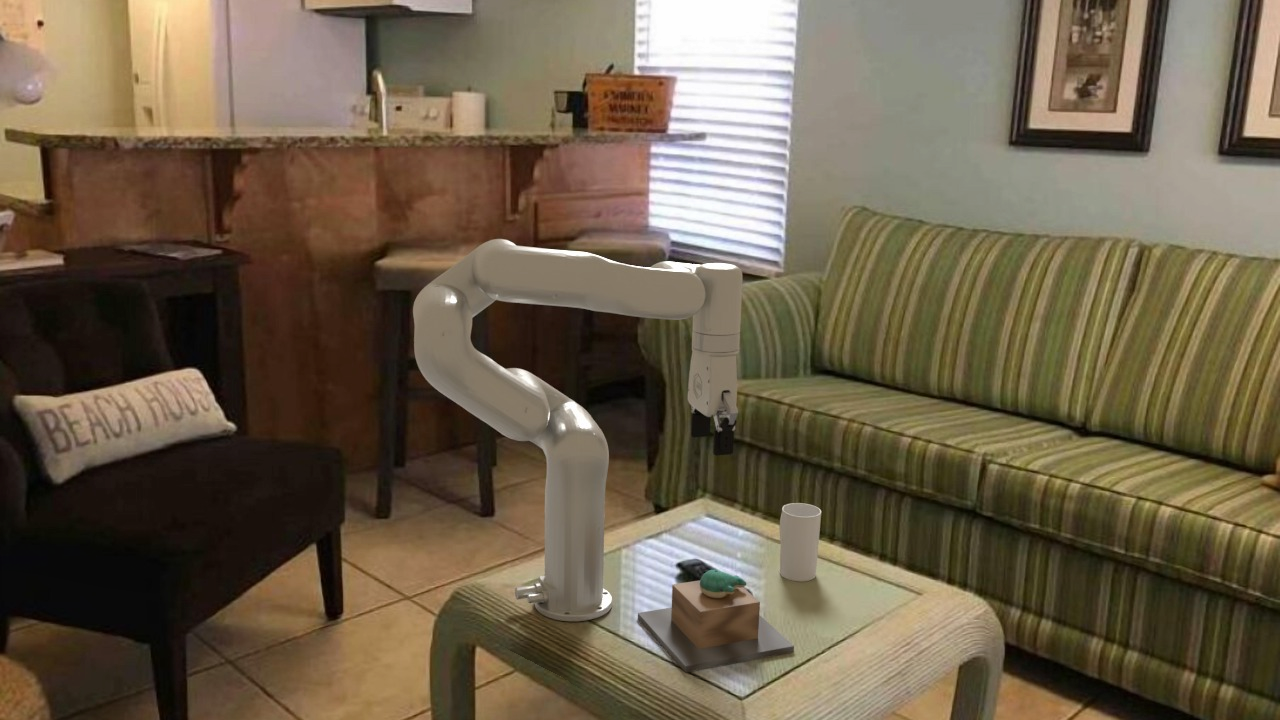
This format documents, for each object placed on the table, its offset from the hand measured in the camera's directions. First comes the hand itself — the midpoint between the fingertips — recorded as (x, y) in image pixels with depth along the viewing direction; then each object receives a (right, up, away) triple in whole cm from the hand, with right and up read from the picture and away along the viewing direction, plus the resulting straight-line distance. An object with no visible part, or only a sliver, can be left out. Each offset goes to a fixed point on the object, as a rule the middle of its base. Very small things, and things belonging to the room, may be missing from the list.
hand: (711, 445), depth 180 cm
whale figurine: (+1, -22, -9) cm, 24 cm away
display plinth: (0, -29, -8) cm, 30 cm away
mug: (+15, -24, +16) cm, 33 cm away
